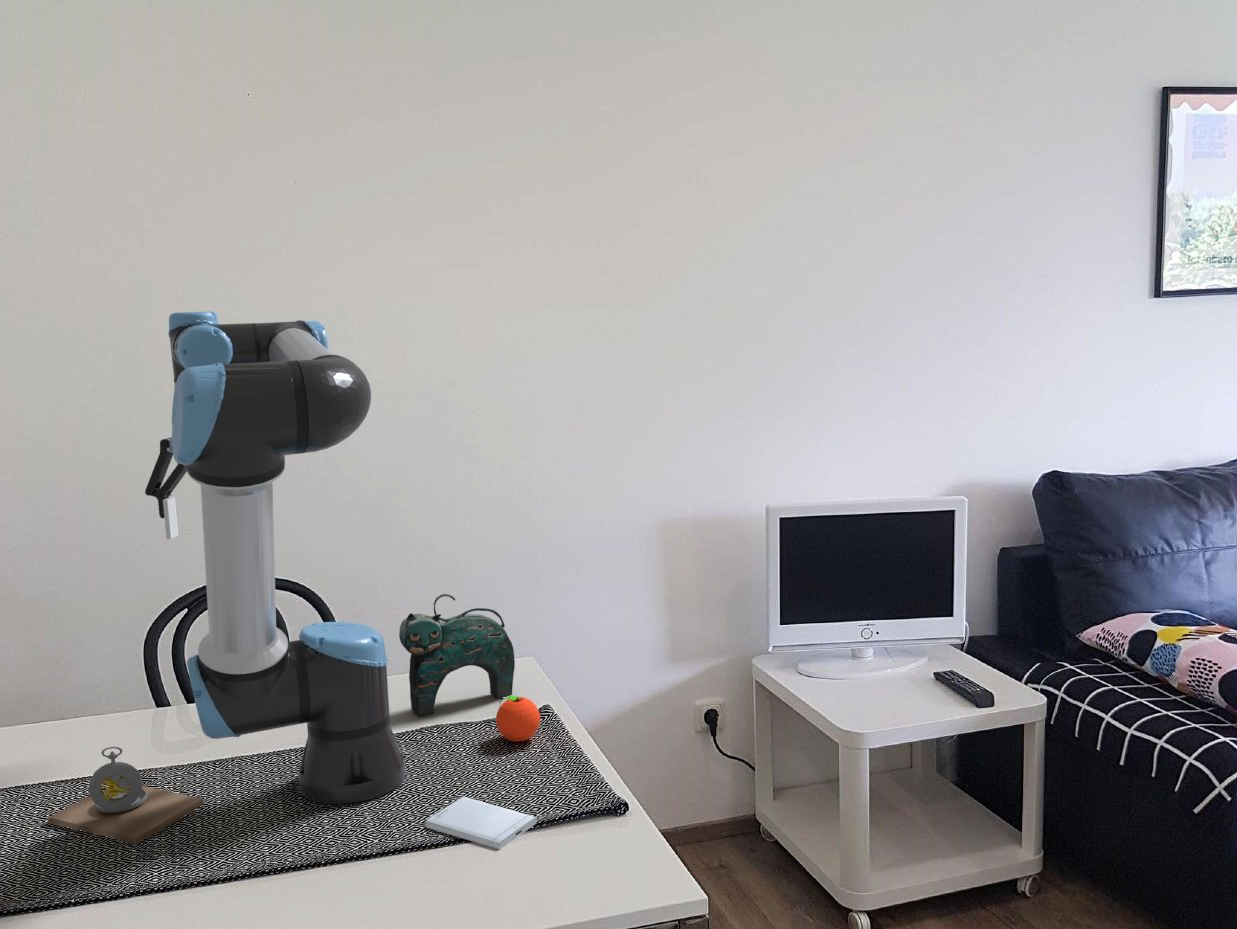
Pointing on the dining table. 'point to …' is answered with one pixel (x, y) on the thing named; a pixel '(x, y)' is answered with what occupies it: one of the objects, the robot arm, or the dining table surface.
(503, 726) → the clementine
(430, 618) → the ceramic cat
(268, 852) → the dining table surface
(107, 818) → the walnut board
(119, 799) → the pocket watch
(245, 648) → the robot arm
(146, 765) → the dining table surface
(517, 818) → the hard drive
